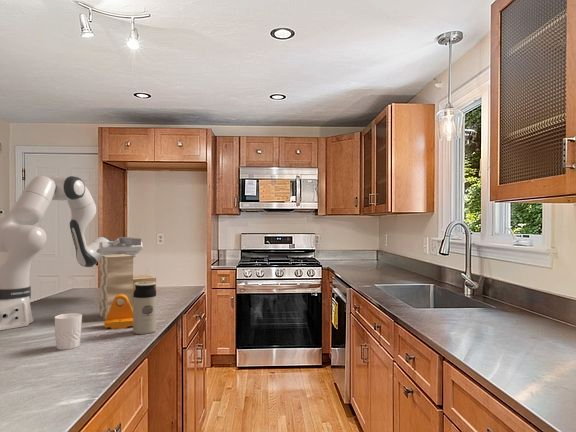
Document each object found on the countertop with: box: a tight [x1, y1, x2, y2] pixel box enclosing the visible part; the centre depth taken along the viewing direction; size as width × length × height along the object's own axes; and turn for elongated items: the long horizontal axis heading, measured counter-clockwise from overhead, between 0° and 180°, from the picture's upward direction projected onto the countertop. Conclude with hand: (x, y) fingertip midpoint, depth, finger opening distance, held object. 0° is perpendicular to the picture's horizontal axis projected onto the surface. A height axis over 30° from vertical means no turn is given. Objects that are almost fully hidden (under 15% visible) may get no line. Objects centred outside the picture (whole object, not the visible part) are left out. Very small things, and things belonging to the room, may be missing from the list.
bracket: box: [103, 294, 133, 330], centre depth 159 cm, size 11×7×12 cm, turn 108°
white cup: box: [54, 312, 83, 351], centre depth 133 cm, size 8×8×10 cm
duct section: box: [118, 236, 142, 245], centre depth 194 cm, size 20×4×3 cm, turn 39°
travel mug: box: [132, 282, 157, 335], centre depth 152 cm, size 8×8×18 cm
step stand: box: [99, 254, 157, 320], centre depth 179 cm, size 12×20×26 cm, turn 129°
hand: (125, 239), depth 198 cm, fingers closed on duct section, 4 cm apart
